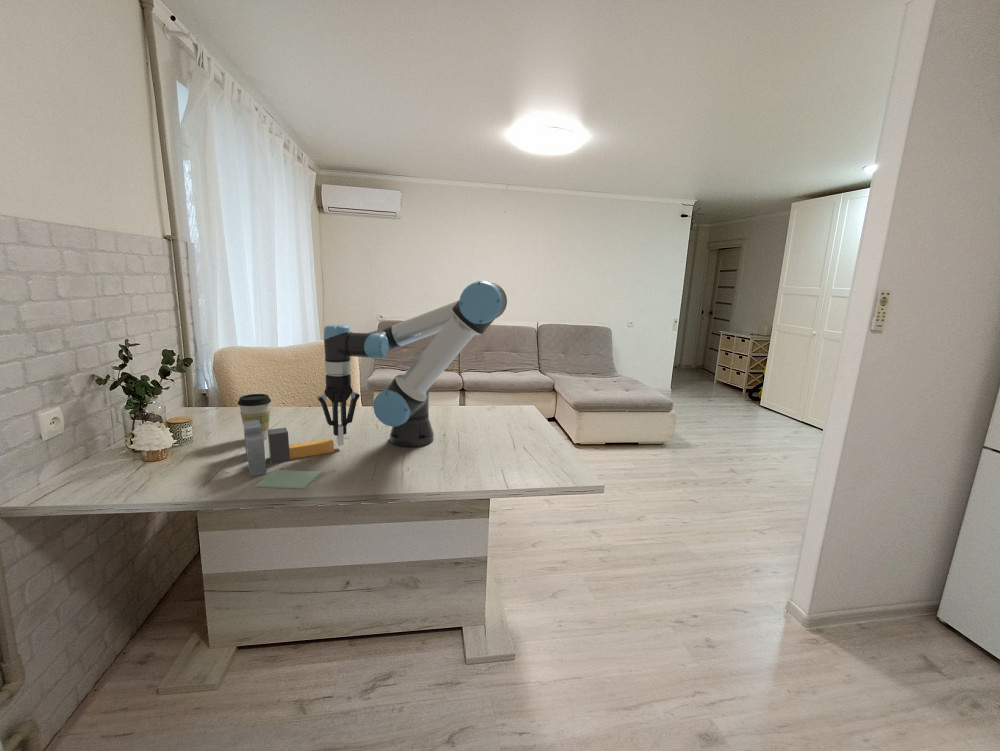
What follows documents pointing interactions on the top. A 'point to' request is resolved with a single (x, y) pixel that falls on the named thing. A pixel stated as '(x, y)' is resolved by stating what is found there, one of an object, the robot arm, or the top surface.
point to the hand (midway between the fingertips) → (340, 444)
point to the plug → (294, 446)
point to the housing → (254, 447)
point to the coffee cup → (256, 410)
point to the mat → (288, 479)
